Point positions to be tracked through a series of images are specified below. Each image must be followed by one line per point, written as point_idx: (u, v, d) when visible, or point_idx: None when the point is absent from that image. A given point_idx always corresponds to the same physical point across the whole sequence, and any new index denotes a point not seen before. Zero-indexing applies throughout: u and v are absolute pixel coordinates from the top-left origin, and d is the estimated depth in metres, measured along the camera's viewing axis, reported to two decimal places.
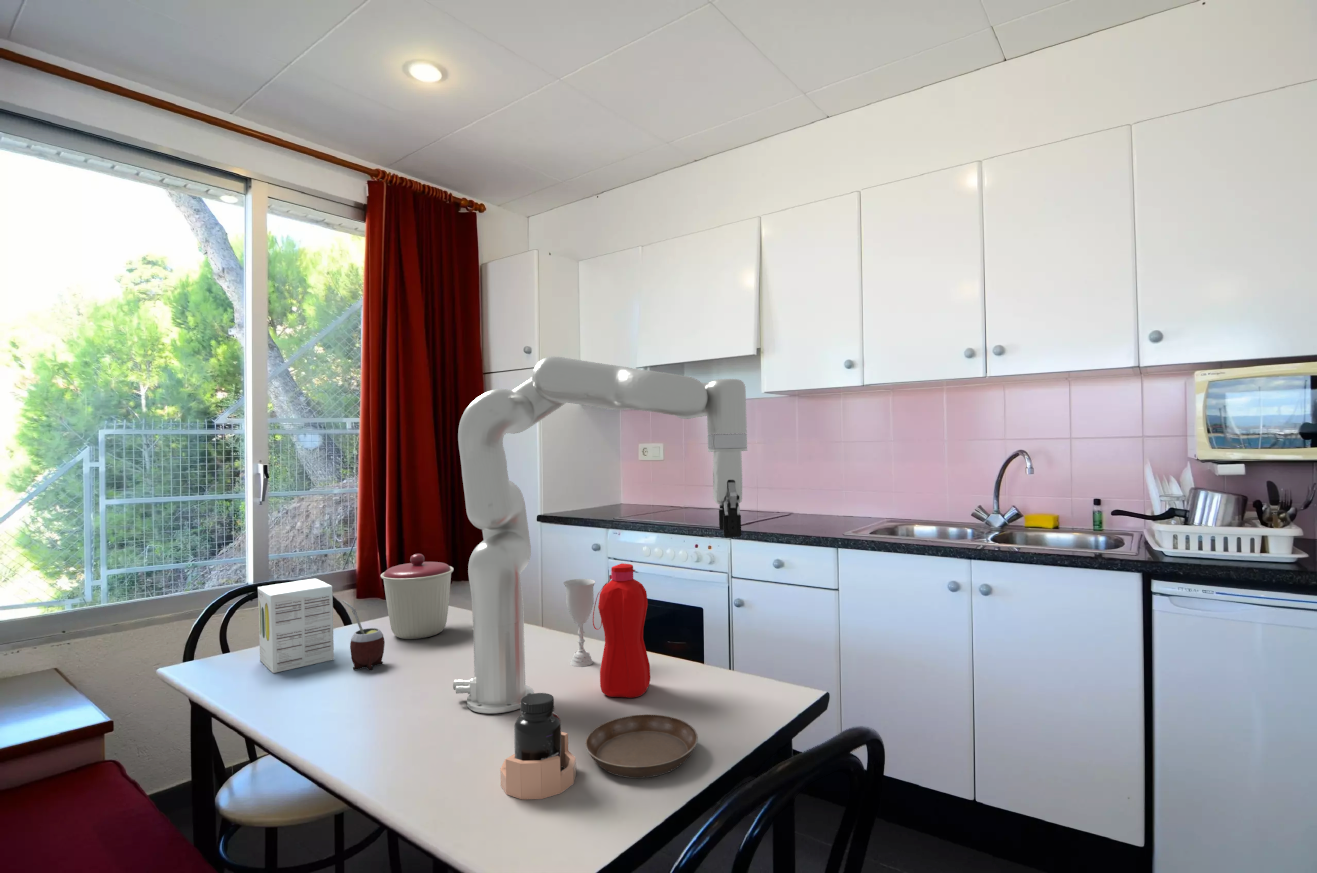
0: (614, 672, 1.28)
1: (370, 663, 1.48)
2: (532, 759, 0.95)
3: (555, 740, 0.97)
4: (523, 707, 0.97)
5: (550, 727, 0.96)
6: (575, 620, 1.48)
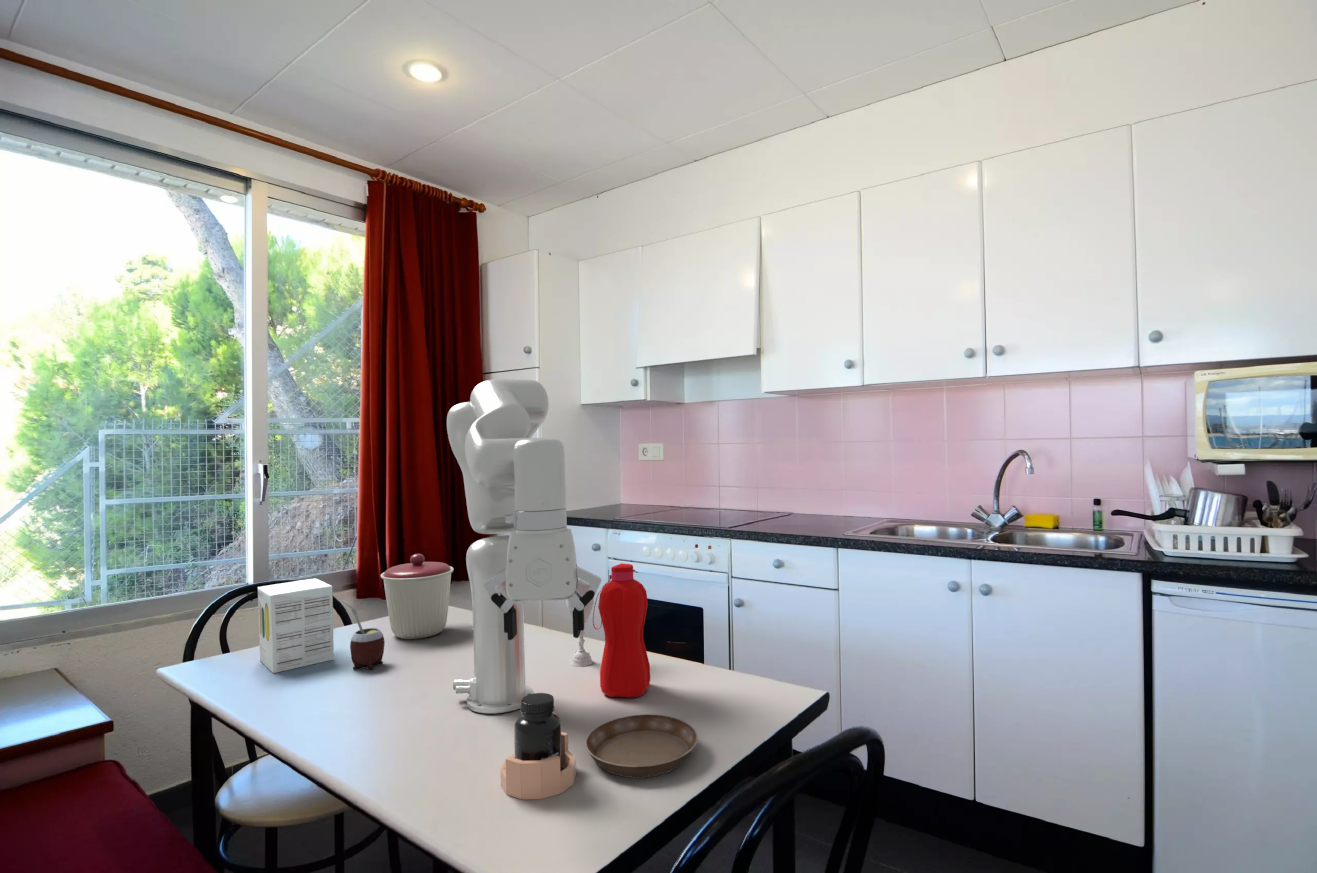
0: (614, 672, 1.28)
1: (370, 663, 1.48)
2: (532, 759, 0.95)
3: (555, 740, 0.97)
4: (523, 707, 0.97)
5: (550, 727, 0.96)
6: None
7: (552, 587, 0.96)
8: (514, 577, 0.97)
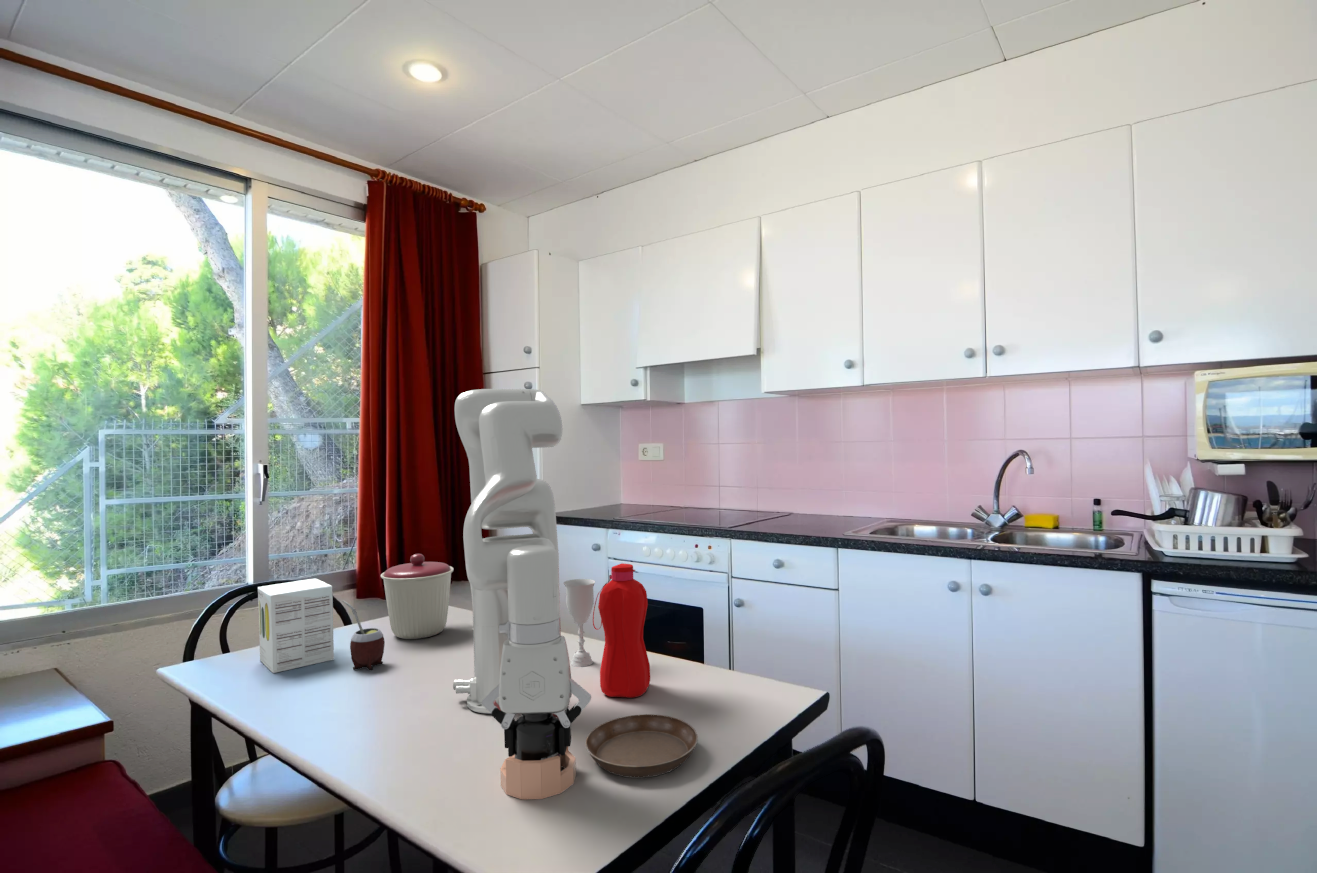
0: (614, 672, 1.28)
1: (370, 663, 1.48)
2: (532, 759, 0.95)
3: (555, 740, 0.97)
4: None
5: (550, 727, 0.96)
6: (575, 620, 1.48)
7: (545, 700, 0.95)
8: (507, 690, 0.96)
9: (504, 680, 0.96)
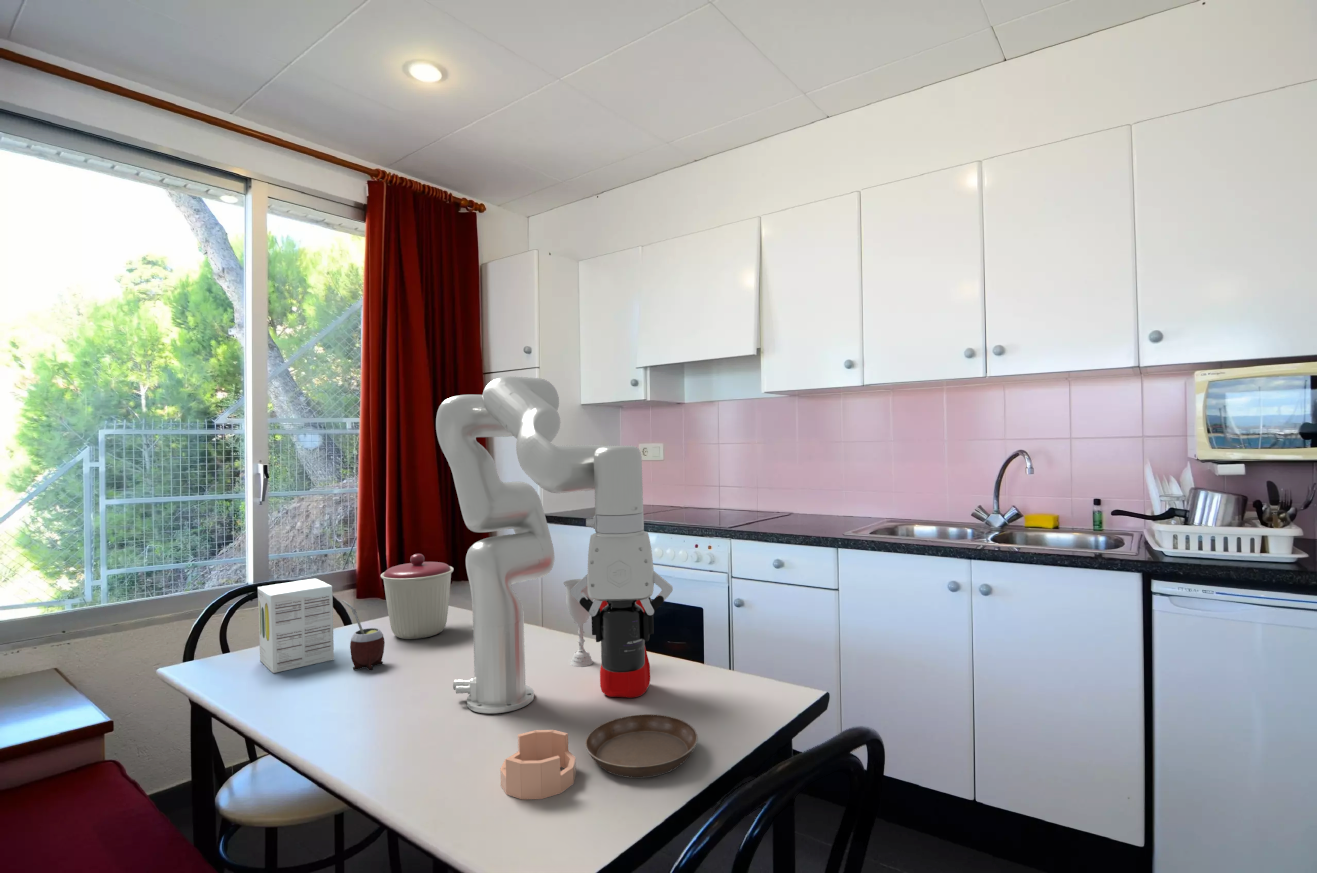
0: (614, 672, 1.28)
1: (370, 663, 1.48)
2: (619, 643, 1.01)
3: (640, 626, 1.02)
4: None
5: (635, 613, 1.02)
6: (575, 620, 1.48)
7: (631, 588, 1.01)
8: (595, 578, 1.02)
9: (592, 569, 1.02)
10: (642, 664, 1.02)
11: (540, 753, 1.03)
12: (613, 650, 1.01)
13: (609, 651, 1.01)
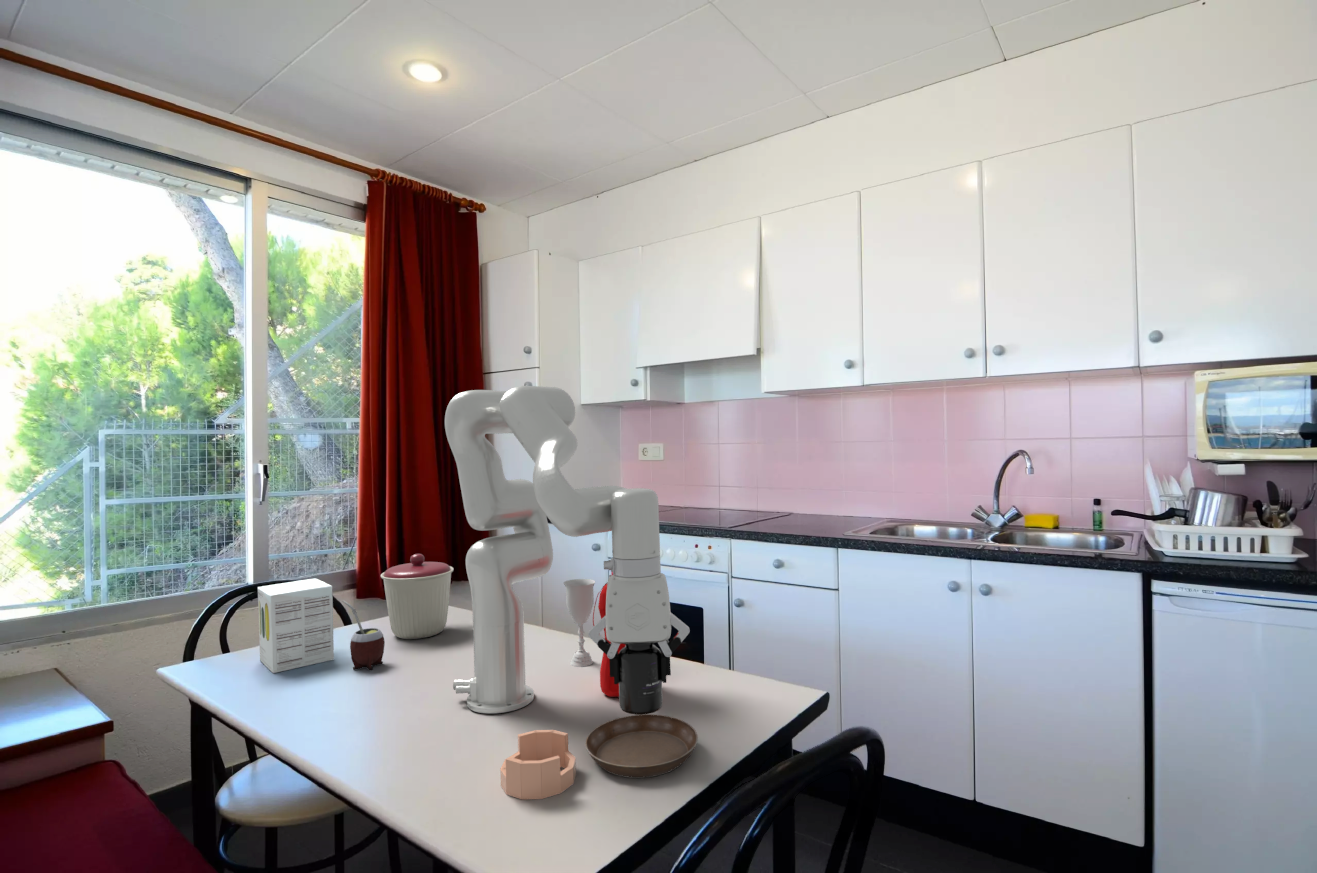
0: None
1: (370, 663, 1.48)
2: (638, 685, 1.02)
3: (658, 668, 1.03)
4: None
5: (654, 655, 1.03)
6: (575, 620, 1.48)
7: (650, 630, 1.02)
8: (614, 621, 1.03)
9: (611, 612, 1.03)
10: (660, 705, 1.04)
11: (540, 753, 1.03)
12: (632, 692, 1.02)
13: (628, 693, 1.02)
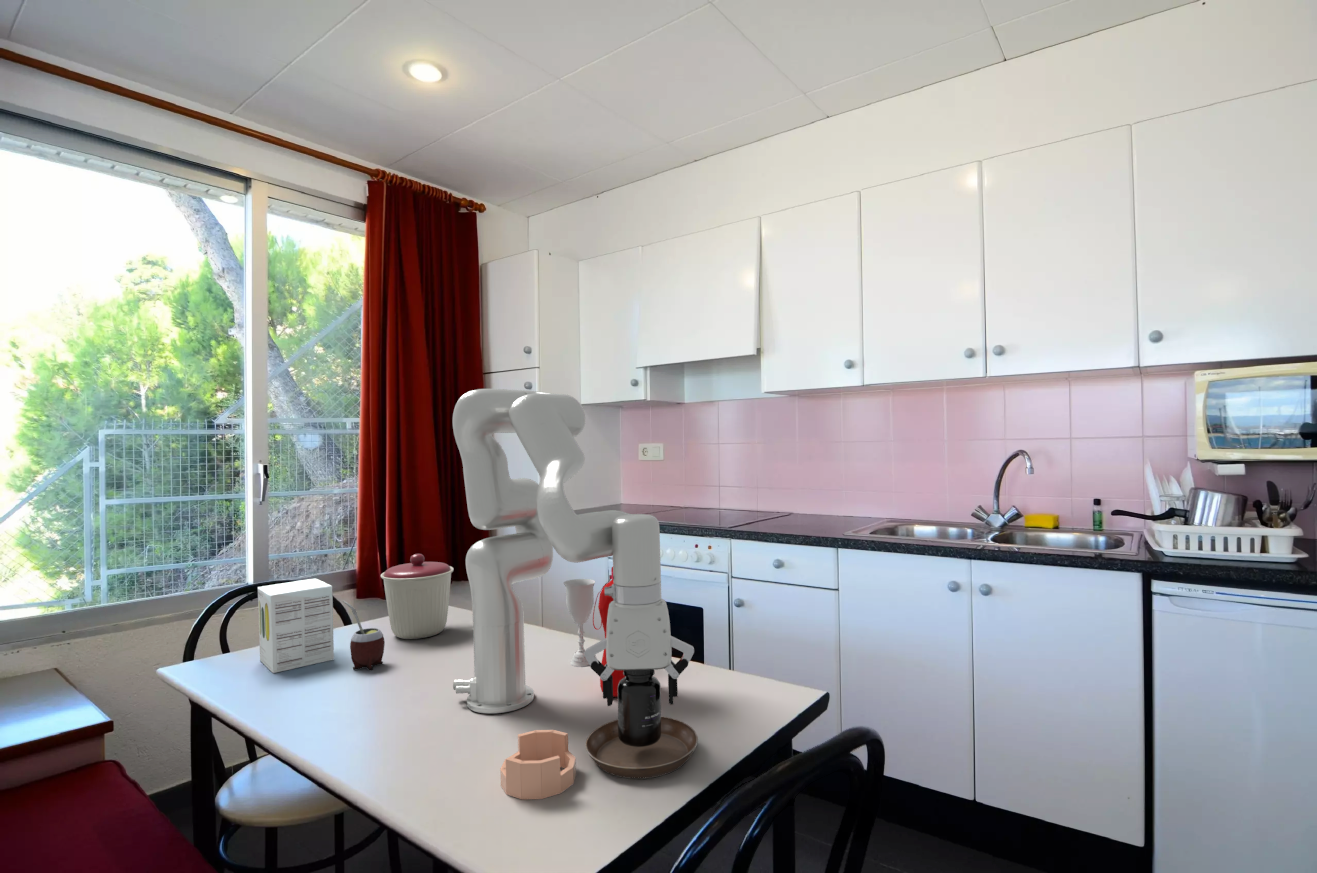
0: (614, 672, 1.28)
1: (370, 663, 1.48)
2: (637, 718, 1.02)
3: (657, 700, 1.03)
4: None
5: (653, 688, 1.03)
6: (575, 620, 1.48)
7: (650, 658, 1.02)
8: (614, 648, 1.03)
9: (611, 639, 1.03)
10: (659, 737, 1.04)
11: (540, 753, 1.03)
12: (631, 724, 1.02)
13: (626, 725, 1.02)
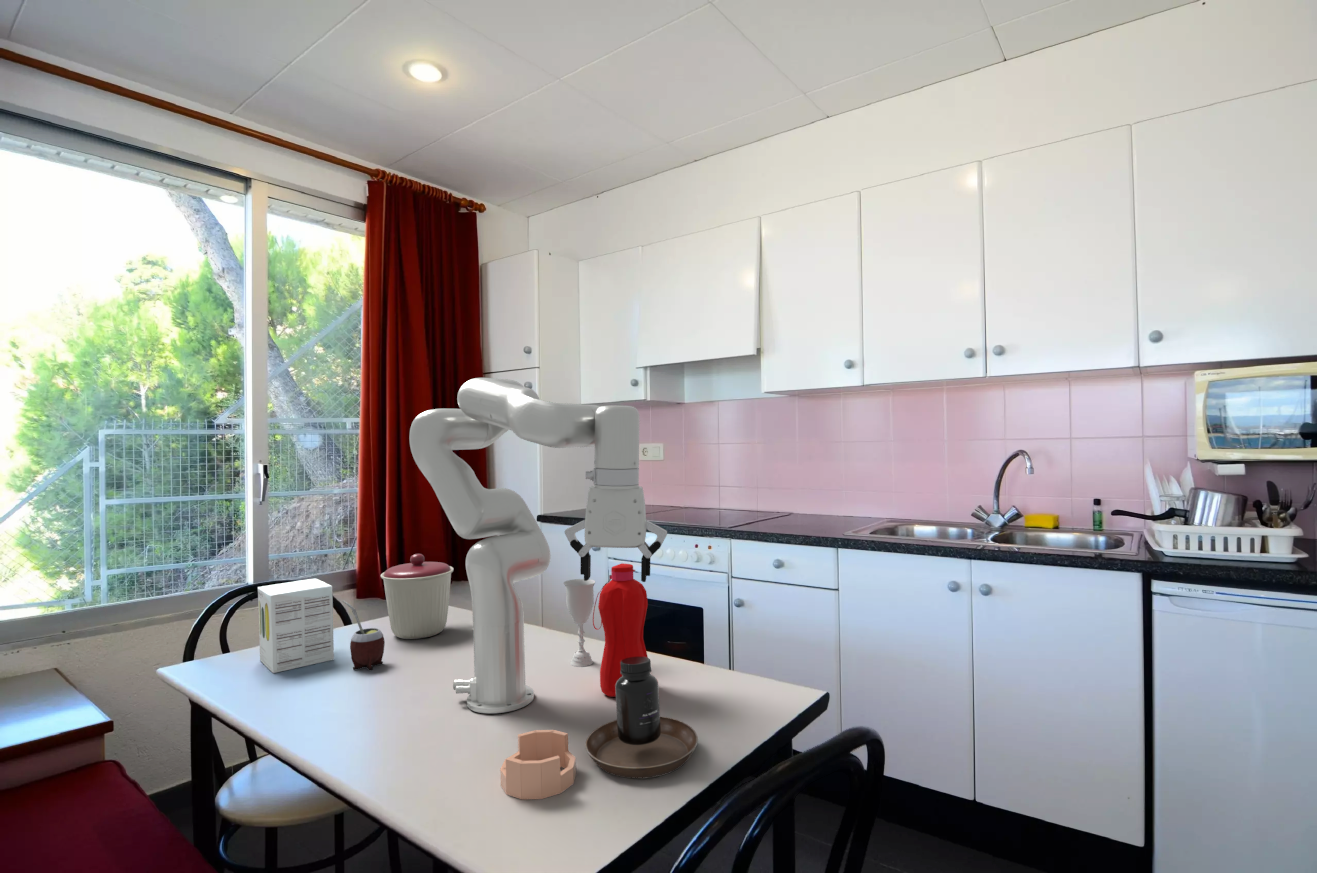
0: (614, 672, 1.28)
1: (370, 663, 1.48)
2: (634, 716, 1.02)
3: (654, 698, 1.04)
4: (623, 668, 1.04)
5: (649, 685, 1.03)
6: (575, 620, 1.48)
7: (625, 536, 1.10)
8: (592, 526, 1.10)
9: (590, 517, 1.10)
10: (658, 735, 1.04)
11: (540, 753, 1.03)
12: (629, 723, 1.02)
13: (624, 724, 1.03)
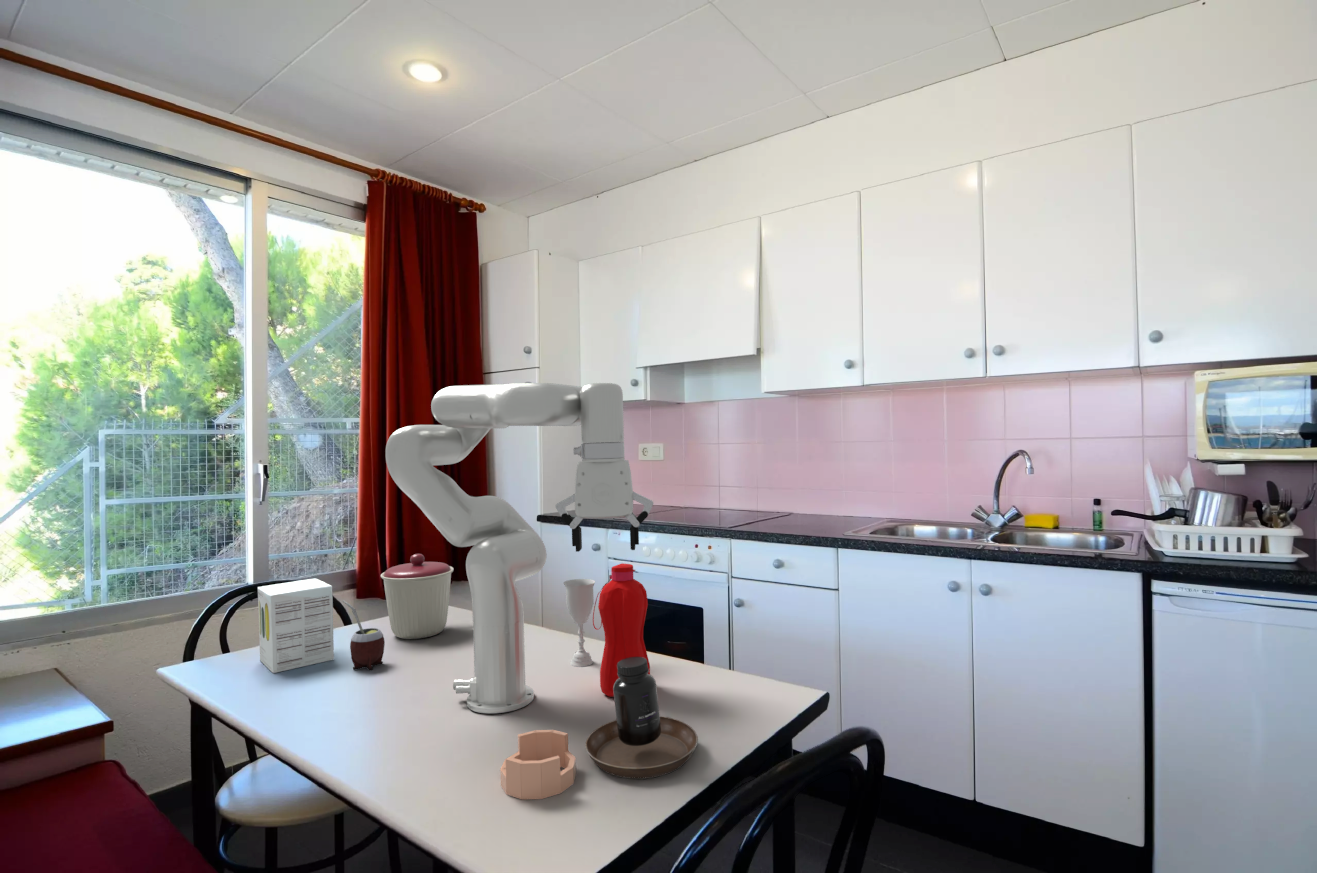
0: (614, 672, 1.28)
1: (370, 663, 1.48)
2: (631, 718, 1.02)
3: (651, 700, 1.03)
4: (619, 670, 1.04)
5: (645, 688, 1.02)
6: (575, 620, 1.48)
7: (614, 506, 1.15)
8: (582, 498, 1.16)
9: (579, 490, 1.16)
10: (657, 736, 1.03)
11: (540, 753, 1.03)
12: (626, 724, 1.02)
13: (622, 725, 1.03)
